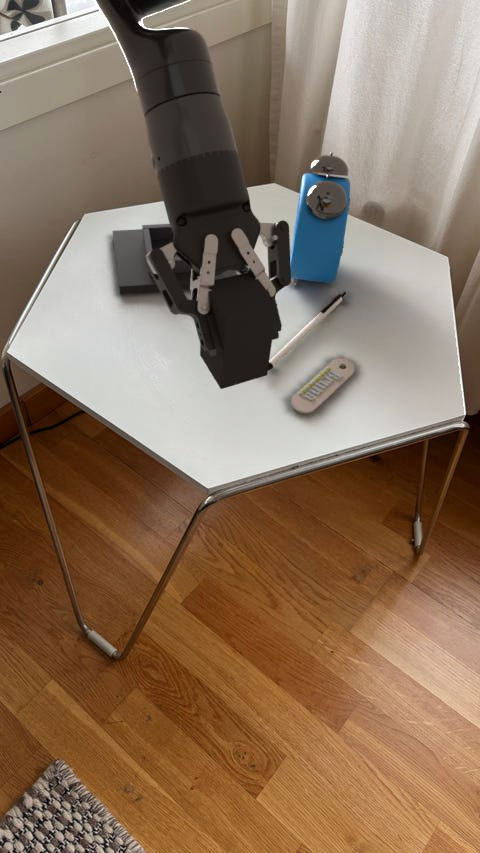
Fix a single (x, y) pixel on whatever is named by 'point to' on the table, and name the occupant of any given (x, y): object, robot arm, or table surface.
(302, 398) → the keychain
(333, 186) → the alarm clock
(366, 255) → the table surface
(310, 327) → the pen
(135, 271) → the base pad
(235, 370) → the pad block
